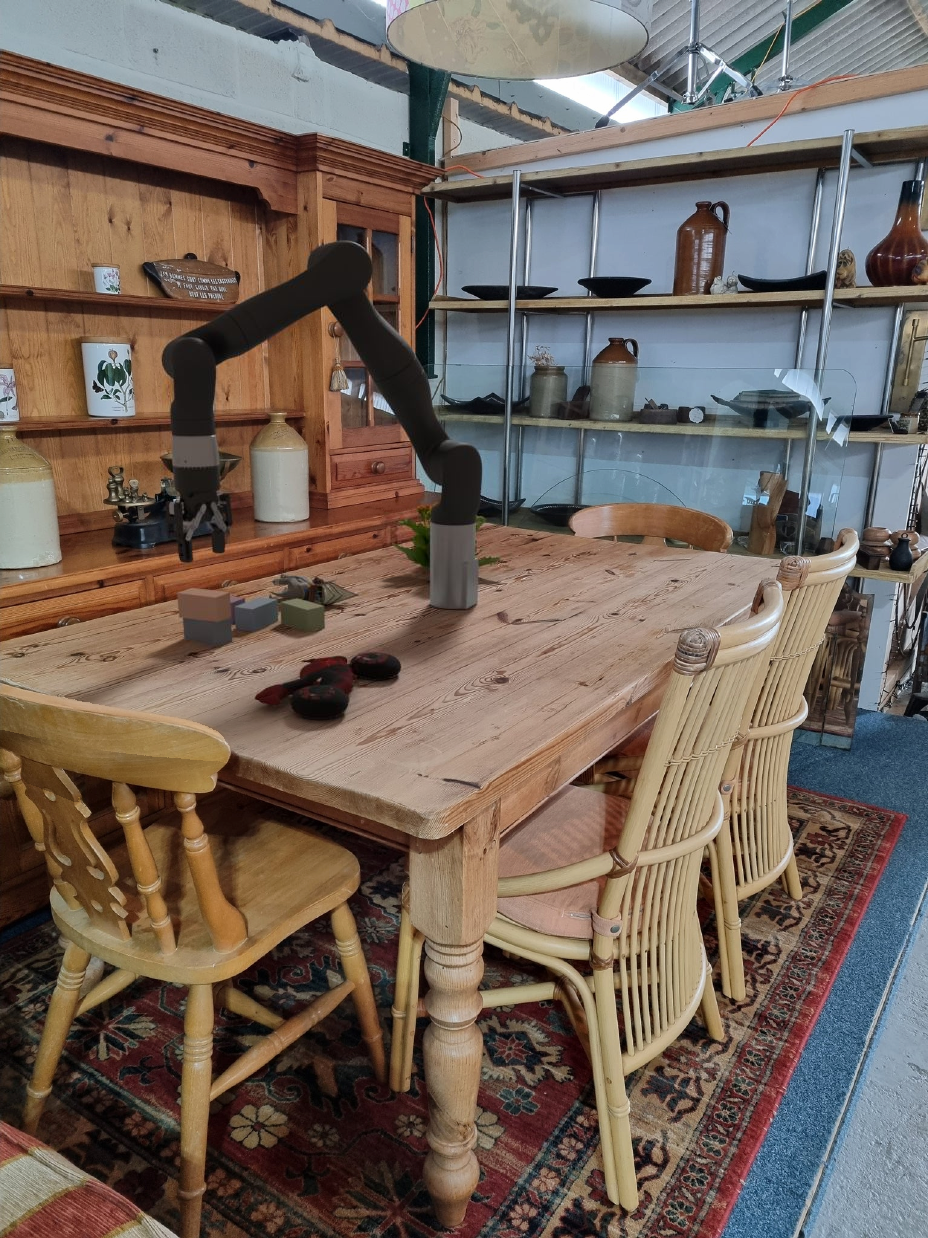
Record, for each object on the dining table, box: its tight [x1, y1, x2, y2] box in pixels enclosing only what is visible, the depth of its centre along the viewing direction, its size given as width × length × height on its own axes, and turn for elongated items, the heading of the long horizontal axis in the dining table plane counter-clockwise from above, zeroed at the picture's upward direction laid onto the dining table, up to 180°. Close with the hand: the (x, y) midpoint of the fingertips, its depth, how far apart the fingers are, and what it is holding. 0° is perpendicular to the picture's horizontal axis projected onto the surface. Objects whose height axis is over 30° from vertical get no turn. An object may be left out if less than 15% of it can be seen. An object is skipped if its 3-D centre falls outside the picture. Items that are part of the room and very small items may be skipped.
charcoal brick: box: [182, 618, 233, 648], centre depth 154 cm, size 8×4×4 cm, turn 55°
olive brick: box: [279, 598, 326, 633], centre depth 164 cm, size 8×4×4 cm, turn 49°
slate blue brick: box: [234, 596, 279, 633], centre depth 164 cm, size 8×4×4 cm, turn 157°
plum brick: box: [229, 595, 246, 625], centre depth 167 cm, size 8×4×4 cm, turn 67°
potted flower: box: [391, 502, 504, 571], centre depth 205 cm, size 25×24×18 cm
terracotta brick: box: [176, 587, 231, 622], centre depth 153 cm, size 8×4×4 cm, turn 69°
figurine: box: [268, 572, 359, 606], centre depth 180 cm, size 20×6×17 cm
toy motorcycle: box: [254, 651, 402, 720], centre depth 131 cm, size 25×5×16 cm
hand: (203, 557), depth 151 cm, fingers open, 8 cm apart
